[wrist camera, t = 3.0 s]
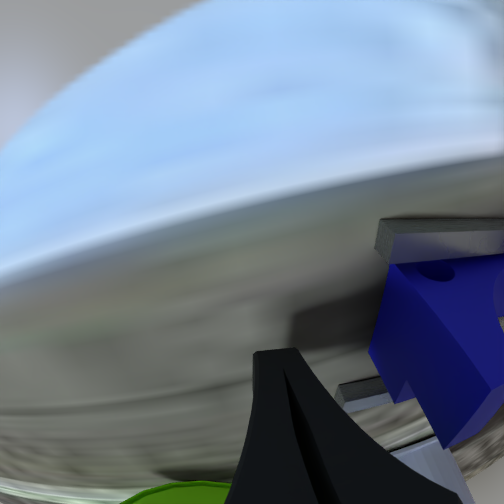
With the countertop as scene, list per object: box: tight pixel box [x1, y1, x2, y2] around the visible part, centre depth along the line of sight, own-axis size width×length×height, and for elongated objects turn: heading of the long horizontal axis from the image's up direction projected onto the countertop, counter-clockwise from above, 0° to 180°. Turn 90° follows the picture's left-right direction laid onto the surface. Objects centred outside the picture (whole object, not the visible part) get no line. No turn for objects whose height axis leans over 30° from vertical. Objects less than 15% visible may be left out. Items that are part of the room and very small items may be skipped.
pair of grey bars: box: [334, 219, 504, 413], centre depth 12 cm, size 9×14×1 cm, turn 90°
